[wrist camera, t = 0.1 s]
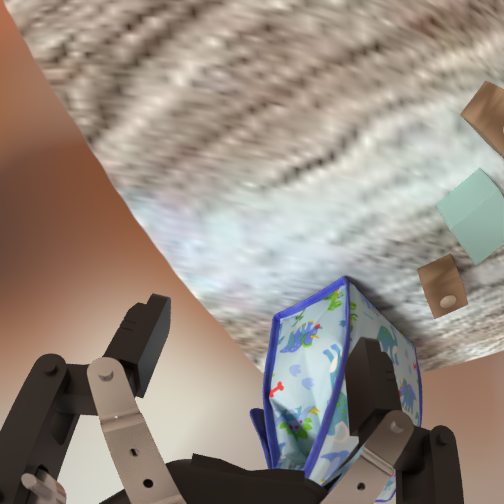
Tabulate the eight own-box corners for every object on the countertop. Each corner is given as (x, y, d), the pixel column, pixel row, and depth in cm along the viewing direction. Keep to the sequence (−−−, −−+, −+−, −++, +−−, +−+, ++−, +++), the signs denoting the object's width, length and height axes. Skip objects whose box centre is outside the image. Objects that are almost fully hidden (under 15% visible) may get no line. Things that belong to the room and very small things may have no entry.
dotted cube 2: (485, 80, 22) (512, 93, 18) (512, 112, 23) (538, 129, 19) (459, 114, 25) (483, 132, 21) (487, 143, 26) (511, 165, 22)
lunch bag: (256, 320, 49) (226, 493, 29) (345, 265, 39) (354, 485, 20) (344, 374, 56) (341, 509, 36) (422, 338, 47) (442, 491, 27)
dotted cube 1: (450, 253, 36) (462, 282, 32) (457, 277, 38) (468, 305, 34) (416, 268, 38) (426, 298, 34) (426, 291, 40) (434, 320, 36)
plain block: (479, 166, 28) (499, 189, 24) (502, 206, 30) (520, 230, 26) (435, 203, 32) (449, 230, 28) (461, 238, 34) (475, 265, 30)
